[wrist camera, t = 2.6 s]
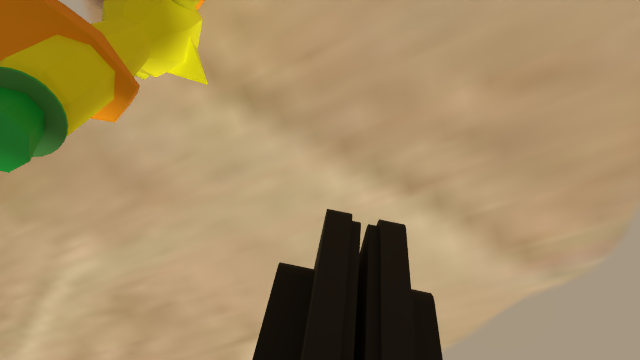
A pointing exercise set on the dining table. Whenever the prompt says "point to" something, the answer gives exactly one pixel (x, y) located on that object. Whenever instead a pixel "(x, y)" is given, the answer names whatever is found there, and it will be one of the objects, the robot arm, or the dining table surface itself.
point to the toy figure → (84, 66)
